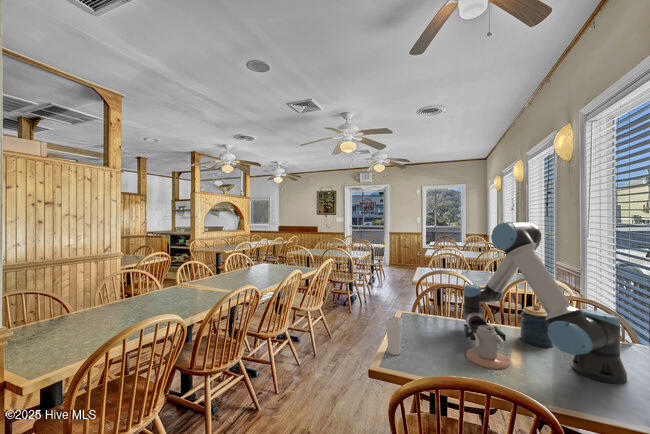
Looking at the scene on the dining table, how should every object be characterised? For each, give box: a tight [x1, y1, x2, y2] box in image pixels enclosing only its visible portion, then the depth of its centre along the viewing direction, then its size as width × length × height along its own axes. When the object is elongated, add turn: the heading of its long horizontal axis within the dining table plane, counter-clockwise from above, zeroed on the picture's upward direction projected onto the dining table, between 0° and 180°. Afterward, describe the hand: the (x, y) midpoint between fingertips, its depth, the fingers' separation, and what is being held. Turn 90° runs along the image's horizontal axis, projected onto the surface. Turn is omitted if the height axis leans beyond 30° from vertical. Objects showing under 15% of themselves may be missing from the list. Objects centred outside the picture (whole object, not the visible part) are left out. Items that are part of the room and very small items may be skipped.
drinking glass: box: [385, 315, 403, 356], centre depth 129 cm, size 7×7×15 cm
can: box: [476, 325, 498, 360], centre depth 123 cm, size 8×8×12 cm
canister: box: [519, 303, 554, 348], centre depth 138 cm, size 13×13×18 cm
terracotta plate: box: [465, 347, 511, 370], centre depth 122 cm, size 16×16×1 cm
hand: (490, 343), depth 118 cm, fingers open, 8 cm apart
